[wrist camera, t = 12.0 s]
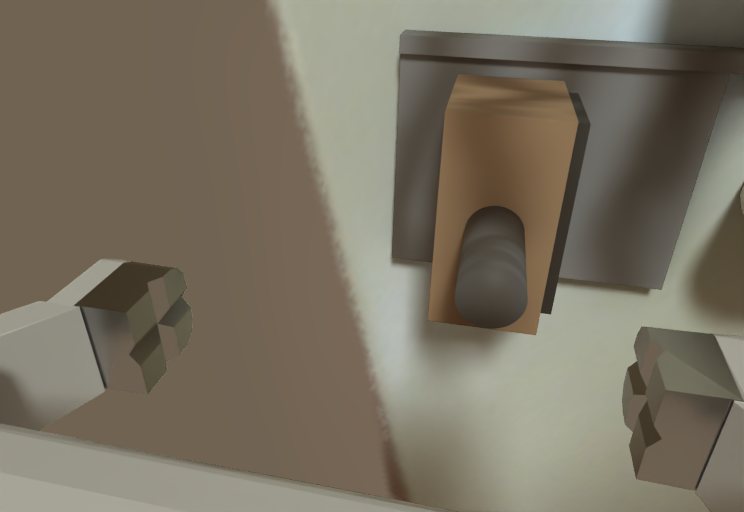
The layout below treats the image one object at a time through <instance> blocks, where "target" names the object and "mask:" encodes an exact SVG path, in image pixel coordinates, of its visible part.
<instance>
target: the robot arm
mask: <svg viewBox="0 0 744 512" xmlns="http://www.w3.org/2000/svg"><path fill="white" fill-rule="evenodd" d="M186 289H187V286H186V282H185V278H184V274H183V272H181V271H180V270H179V269H178V268H174V267H167V266H160V265H154V264H147V263H140V262H133V261H131V262H129V261H126V260H118V259H100V260H99V261H98V262H97V263H95V264H94V265H93V266H92V267H90V268H89V269H88V270H86V271H85V272H84V273H83V274H82V275H80V276H79V277H78V278H76V279H75V280H74V281H73V282H71V283H70V284H69V285H68V286H66V287H65V288H64V289H62V290H61V291H60V292H59V293H57V294H56V295H55V296H54V297H52V298H51V299H50V300H49V301H47V302H42V301H38V302H35V303H33V304H29V305H26V306H23V307H20V308H17V309H14V310H12V311H8V312H6V313H2V314H0V512H457V511H452V510H447V509H441V508H436V507H431V506H426V505H421V504H416V503H411V502H405V501H400V500H395V499H390V498H384V497H380V496H374V495H369V494H364V493H359V492H354V491H349V490H343V489H338V488H333V487H327V486H322V485H317V484H312V483H306V482H302V481H296V480H291V479H286V478H281V477H276V476H270V475H265V474H260V473H255V472H250V471H244V470H239V469H234V468H229V467H223V466H218V465H213V464H208V463H203V462H197V461H192V460H187V459H182V458H177V457H171V456H165V455H161V454H155V453H151V452H146V451H140V450H135V449H129V448H125V447H120V446H114V445H109V444H104V443H99V442H93V441H88V440H83V439H78V438H73V437H68V436H63V435H57V434H52V433H47V432H42V431H39V430H41V429H43V428H44V427H46V426H47V425H49V424H51V423H53V422H54V421H56V420H58V419H59V418H61V417H63V416H64V415H66V414H68V413H69V412H71V411H73V410H75V409H76V408H78V407H79V406H81V405H82V404H85V403H86V402H88V401H90V400H91V399H93V398H95V397H96V396H98V395H100V394H101V393H103V392H104V391H105V389H110V390H118V391H124V392H131V393H138V394H145V395H148V394H149V393H150V392H151V390H152V389H153V387H154V386H155V385H156V384H157V383H158V381H159V380H160V379H161V378H162V376H163V375H164V374H165V373H166V371H167V366H166V361H168V360H170V359H172V358H174V357H176V356H178V355H180V354H181V352H182V351H183V349H184V348H185V347H186V346H187V344H188V341H189V338H190V335H191V332H192V322H193V318H192V312H191V307H190V306H189V305H188V304H187V303H186V301H185V300H184V299H183V298H182V295H183V293H184V292H185V290H186ZM634 350H635V354H636V358H637V362H635V363H634V364H632V365H631V366H630V367H628V369H627V373H626V377H625V381H624V386H623V396H622V406H623V416H624V422H625V425H626V426H627V427H628V428H629V429H630V430H631V431H632V432H633V434H632V438H631V441H630V444H629V447H630V452H631V457H632V461H633V466H634V471H635V476H636V479H639V480H644V481H649V482H654V483H659V484H664V485H669V486H674V487H679V488H684V489H689V490H694V491H696V495H697V496H698V497H699V498H700V499H701V500H702V502H703V503H704V504H705V505H706V506H707V507H708V509H709V510H710V511H711V512H744V336H734V335H723V334H713V333H709V334H707V333H698V332H689V331H679V330H670V329H661V328H652V327H641V328H640V330H639V332H638V334H637V337H636V341H635V344H634Z"/></svg>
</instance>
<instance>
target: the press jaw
mask: <svg viewBox="0 0 744 512" xmlns="http://www.w3.org/2000/svg"><path fill="white" fill-rule="evenodd" d="M590 126H591V123H590V121H589V118H588V116H587V113H586V111H585V108H584V106H583V103H582V101H581V98H580V96H579V93H569V92H568V90H567V87H566V84H565V81H556V80H540V79H525V78H510V77H494V76H479V75H464V74H458V76H457V79H456V82H455V85H454V87H453V90H452V93H451V96H450V99H449V102H448V104H447V107H446V110H445V117H444V130H443V142H442V154H441V166H440V178H439V190H438V202H437V214H436V227H435V239H434V251H433V263H432V275H431V287H430V299H429V311H428V320H429V321H436V322H443V323H450V324H458V325H465V326H472V327H480V328H487V329H494V330H502V331H509V332H516V333H524V334H531V335H536V332H537V327H538V322H539V317H540V313H545V314H551V311H552V306H553V301H554V297H555V292H556V287H557V283H558V278H559V273H560V268H561V264H562V259H563V254H564V249H565V245H566V240H567V235H568V230H569V226H570V221H571V216H572V211H573V207H574V202H575V197H576V192H577V188H578V183H579V178H580V173H581V169H582V164H583V159H584V155H585V150H586V145H587V140H588V136H589V131H590Z"/></svg>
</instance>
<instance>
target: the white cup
mask: <svg viewBox="0 0 744 512" xmlns="http://www.w3.org/2000/svg"><path fill="white" fill-rule="evenodd" d="M740 200H741V210H742V212H743V214H744V185H743V188H742V190H741V193H740Z"/></svg>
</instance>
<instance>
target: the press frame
mask: <svg viewBox="0 0 744 512" xmlns="http://www.w3.org/2000/svg"><path fill="white" fill-rule="evenodd" d="M399 53H401V54H400V77H399V101H398V125H397V149H396V173H395V197H394V220H393V244H392V258H401V259H409V260H418V261H426V262H433V251H434V239H435V227H436V214H437V202H438V190H439V178H440V166H441V154H442V142H443V130H444V117H445V110H446V107H447V104H448V102H449V99H450V96H451V93H452V90H453V87H454V85H455V82H456V79H457V76H458V74H464V75H479V76H494V77H510V78H525V79H540V80H556V81H565V84H566V87H567V90H568V92H569V93H579V96H580V98H581V101H582V103H583V106H584V108H585V111H586V113H587V116H588V118H589V121H590V123H591V126H590V131H589V136H588V140H587V145H586V150H585V155H584V159H583V164H582V169H581V173H580V178H579V183H578V188H577V192H576V197H575V202H574V207H573V211H572V216H571V221H570V226H569V230H568V235H567V240H566V245H565V249H564V254H563V259H562V264H561V268H560V273H559V278H568V279H576V280H584V281H593V282H601V283H609V284H618V285H626V286H634V287H643V288H651V289H659V290H662V286H663V283H664V280H665V277H666V274H667V271H668V268H669V264H670V261H671V258H672V255H673V252H674V249H675V246H676V243H677V239H678V236H679V233H680V230H681V227H682V224H683V221H684V217H685V214H686V211H687V208H688V205H689V202H690V199H691V195H692V192H693V189H694V186H695V183H696V180H697V177H698V173H699V170H700V167H701V164H702V161H703V158H704V155H705V152H706V148H707V145H708V142H709V139H710V136H711V133H712V130H713V126H714V123H715V120H716V117H717V114H718V111H719V108H720V104H721V101H722V98H723V95H724V92H725V89H726V86H727V83H728V79H729V76H730V73H733V74H744V48H735V47H717V46H698V45H679V44H660V43H641V42H623V41H604V40H585V39H566V38H548V37H529V36H510V35H491V34H473V33H454V32H435V31H416V30H405V31H404V32H403V33H402V34H401V35H400V46H399Z"/></svg>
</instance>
